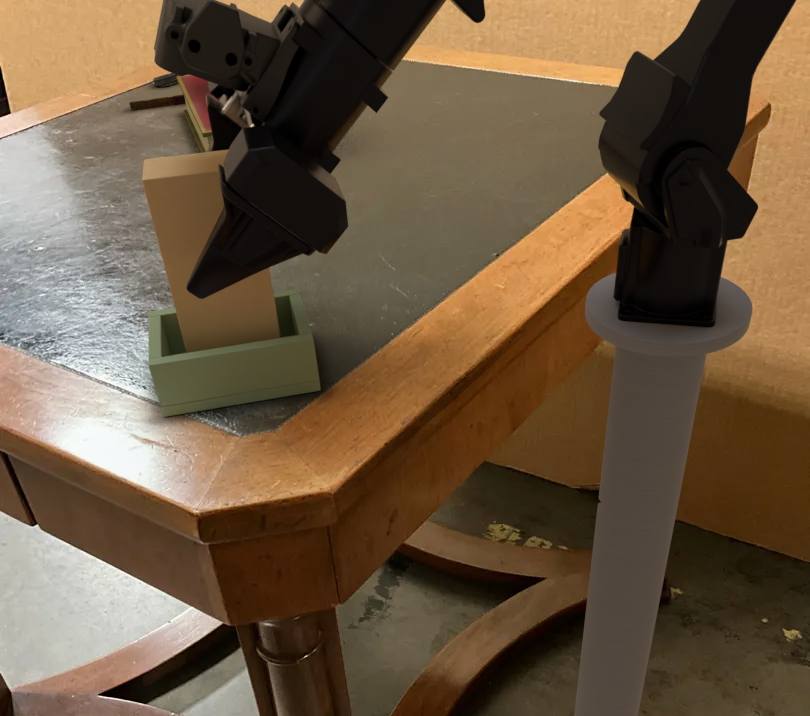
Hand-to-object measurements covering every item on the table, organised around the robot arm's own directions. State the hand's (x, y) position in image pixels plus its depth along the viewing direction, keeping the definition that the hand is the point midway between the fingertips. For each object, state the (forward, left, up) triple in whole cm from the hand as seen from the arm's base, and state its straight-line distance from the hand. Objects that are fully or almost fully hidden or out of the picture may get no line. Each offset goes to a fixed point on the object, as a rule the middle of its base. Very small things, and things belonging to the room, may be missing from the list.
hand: (190, 259), depth 54 cm
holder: (-1, -1, -8) cm, 8 cm away
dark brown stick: (+28, -57, -9) cm, 64 cm away
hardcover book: (+17, -47, -9) cm, 50 cm away
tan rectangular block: (-1, -1, -7) cm, 8 cm away
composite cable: (+33, -66, -9) cm, 74 cm away
